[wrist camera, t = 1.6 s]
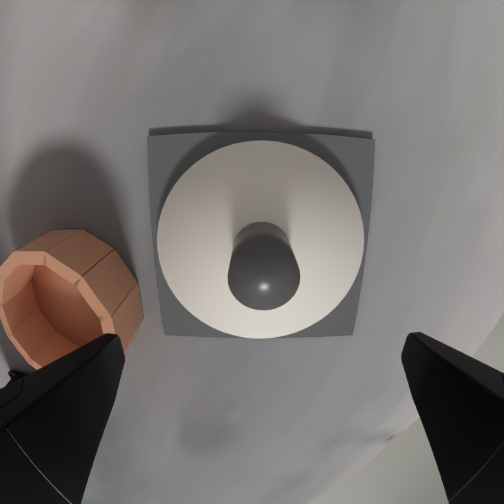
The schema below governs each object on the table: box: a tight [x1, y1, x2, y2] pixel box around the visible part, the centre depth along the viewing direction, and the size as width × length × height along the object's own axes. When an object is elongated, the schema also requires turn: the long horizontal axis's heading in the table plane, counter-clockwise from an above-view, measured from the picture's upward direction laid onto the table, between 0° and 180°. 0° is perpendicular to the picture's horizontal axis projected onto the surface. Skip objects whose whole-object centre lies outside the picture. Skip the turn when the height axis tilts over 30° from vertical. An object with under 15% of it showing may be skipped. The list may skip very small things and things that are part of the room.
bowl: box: [0, 229, 143, 370], centre depth 17 cm, size 10×10×4 cm
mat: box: [148, 132, 375, 338], centre depth 18 cm, size 13×13×1 cm
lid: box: [157, 140, 364, 339], centre depth 16 cm, size 12×12×5 cm
